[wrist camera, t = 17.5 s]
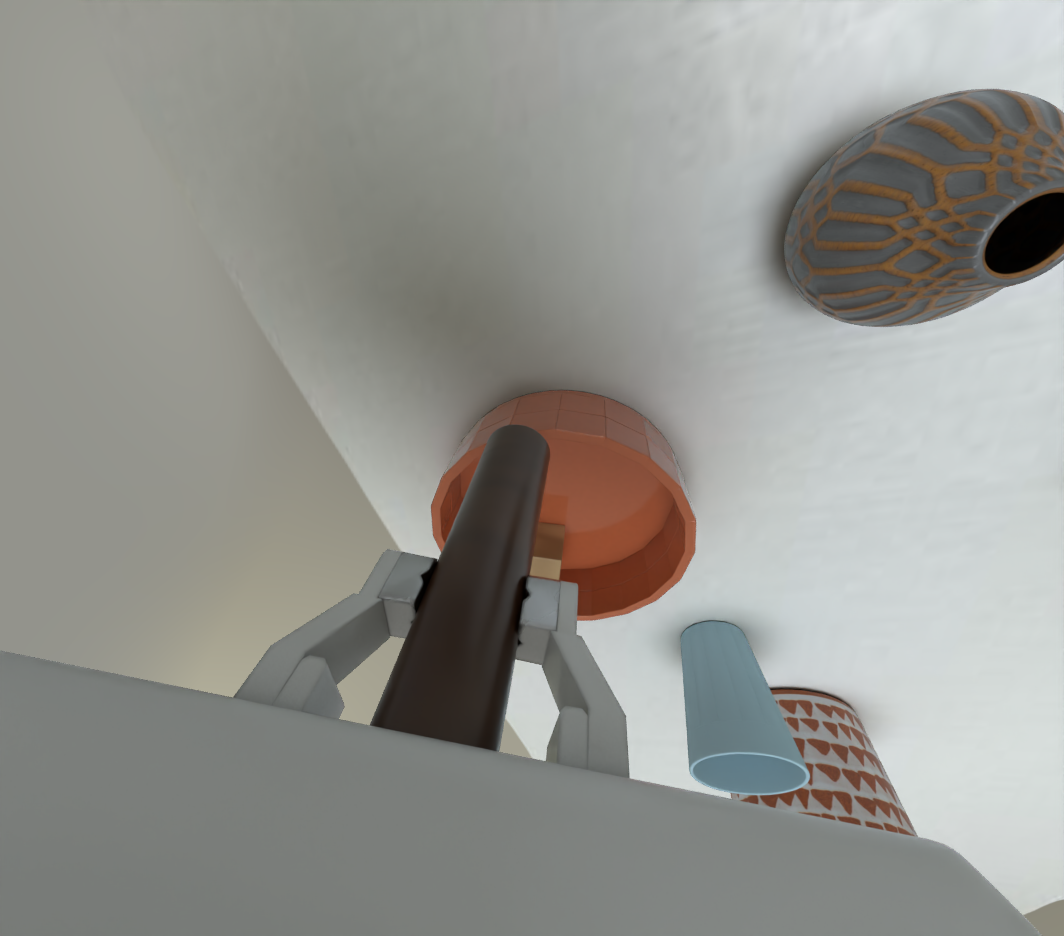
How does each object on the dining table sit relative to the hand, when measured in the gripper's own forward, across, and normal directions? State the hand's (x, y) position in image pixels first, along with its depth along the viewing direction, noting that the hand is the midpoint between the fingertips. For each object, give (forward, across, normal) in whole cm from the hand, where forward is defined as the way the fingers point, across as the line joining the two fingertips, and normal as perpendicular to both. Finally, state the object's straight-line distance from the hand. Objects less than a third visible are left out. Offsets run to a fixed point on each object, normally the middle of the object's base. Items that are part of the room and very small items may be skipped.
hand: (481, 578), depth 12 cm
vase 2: (+14, -31, +34) cm, 48 cm away
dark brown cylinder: (+7, 0, 0) cm, 7 cm away
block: (+14, -2, +12) cm, 19 cm away
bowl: (+14, -3, +8) cm, 17 cm away
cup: (+15, -19, +22) cm, 32 cm away
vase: (+15, -13, -10) cm, 22 cm away
